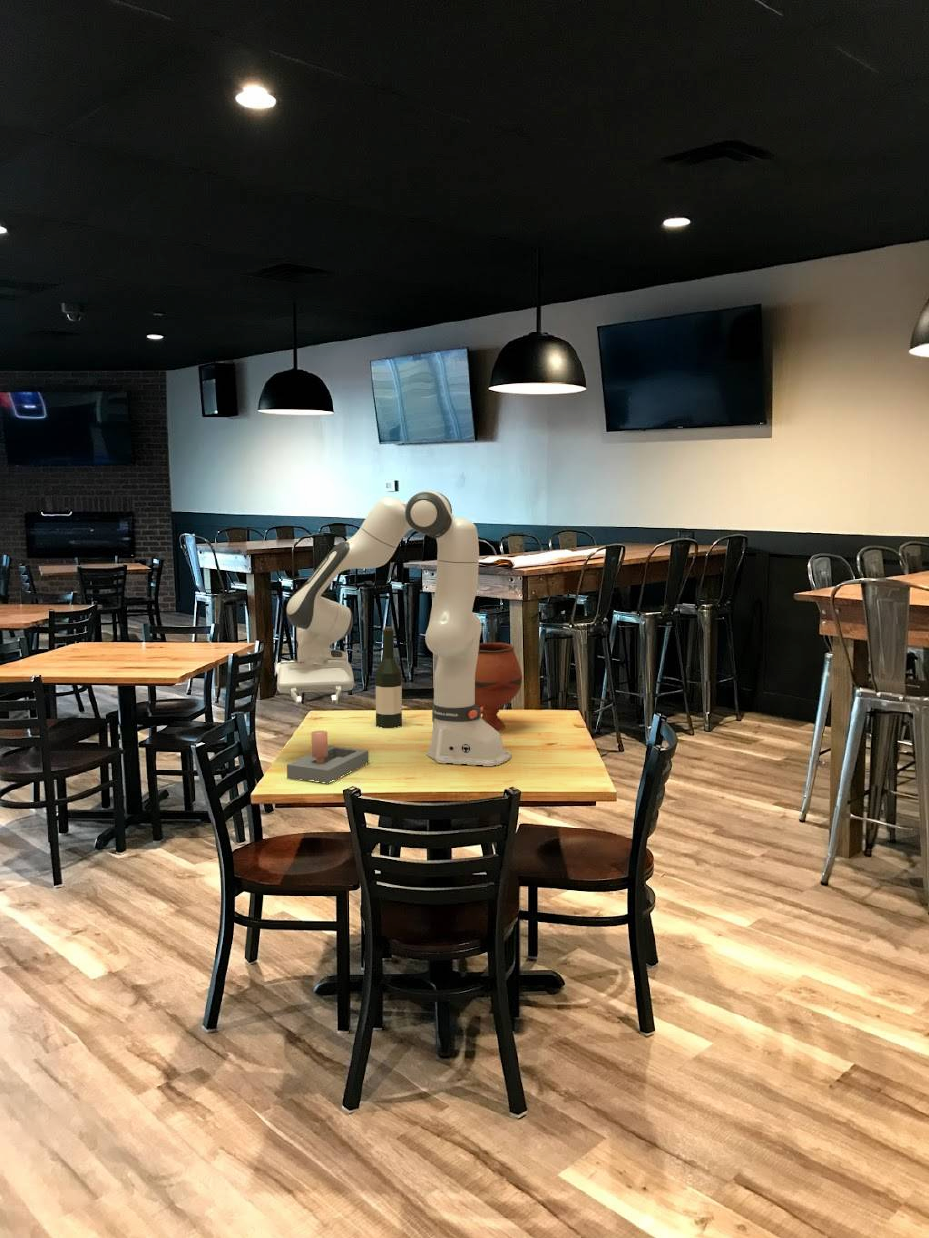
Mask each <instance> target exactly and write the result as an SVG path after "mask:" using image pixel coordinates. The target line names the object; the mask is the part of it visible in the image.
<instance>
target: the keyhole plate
mask: <svg viewBox="0 0 929 1238" xmlns="http://www.w3.org/2000/svg"><path fill="white" fill-rule="evenodd" d="M369 753H370V752H369V750H366V749H358V748H353V747H345V746H344V747H343V746H336V745H328V756H327V757H324V764H321V763H316V758H314V757H312V753H310V754H308V755H305V756H303V757H301V758H299V759H296V760H294V761H291V762H290V763H288V764H286V779H288V778H294V779H293V780H295V779H302V780H314V781H319V782H325V783H329V782H330V781H332V780H336V779H338V778H340V777H341V776H343V775H345V774H347V773H349V772H350V771H353V772H354V770H355V771H357V770H358V769H357V768H359V769H360V767H361V766H363V765H365V764H366V763H368V762H369V761H370V760H369V755H370V754H369ZM369 763H370V762H369ZM365 766H366V765H365ZM363 767H364V766H363ZM361 768H362V767H361ZM356 769H357V770H356ZM349 774H350V773H349ZM347 775H348V774H347ZM345 776H346V775H345ZM343 777H344V776H343ZM340 779H341V778H340ZM302 780H301V781H302ZM338 780H339V779H338ZM336 781H337V780H336Z"/></svg>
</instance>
